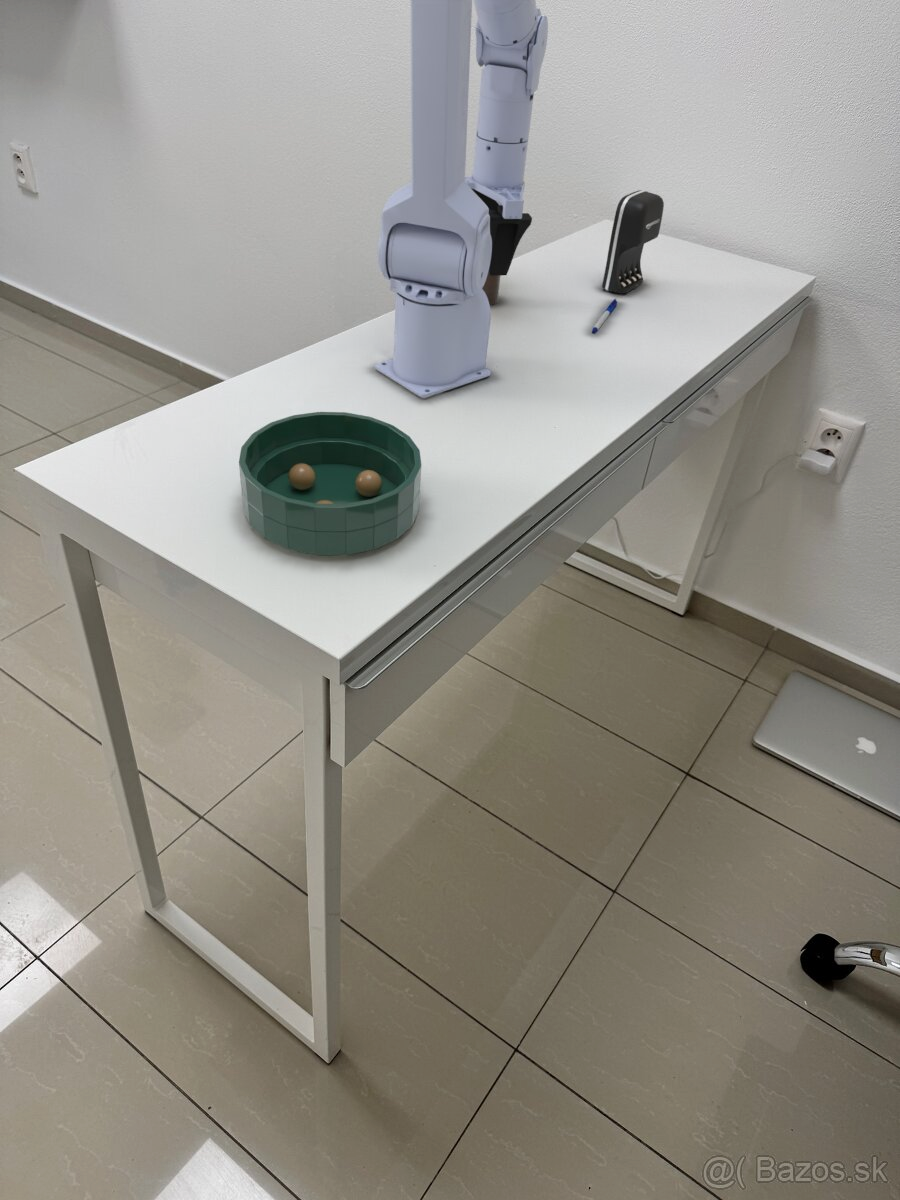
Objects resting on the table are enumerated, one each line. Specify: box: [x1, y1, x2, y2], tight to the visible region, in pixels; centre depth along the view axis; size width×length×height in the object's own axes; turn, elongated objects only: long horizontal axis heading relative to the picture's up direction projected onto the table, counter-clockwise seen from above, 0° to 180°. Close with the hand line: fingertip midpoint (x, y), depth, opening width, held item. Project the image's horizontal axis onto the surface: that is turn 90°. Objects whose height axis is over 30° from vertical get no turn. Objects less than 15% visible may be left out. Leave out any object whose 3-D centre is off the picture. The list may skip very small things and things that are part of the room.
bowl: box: [238, 411, 422, 557], centre depth 70 cm, size 14×14×5 cm
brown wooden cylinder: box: [482, 272, 502, 306], centre depth 104 cm, size 3×3×8 cm
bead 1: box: [288, 463, 315, 490], centre depth 71 cm, size 2×2×2 cm
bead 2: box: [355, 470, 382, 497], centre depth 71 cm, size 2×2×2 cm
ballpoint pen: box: [591, 298, 618, 334], centre depth 105 cm, size 10×1×1 cm, turn 159°
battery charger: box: [601, 189, 665, 294], centre depth 110 cm, size 7×4×11 cm, turn 143°
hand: (489, 262), depth 104 cm, fingers open, 7 cm apart
